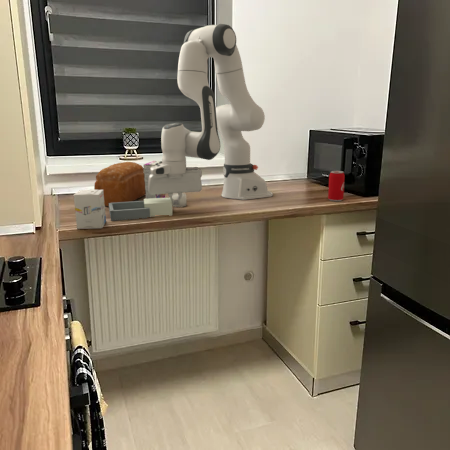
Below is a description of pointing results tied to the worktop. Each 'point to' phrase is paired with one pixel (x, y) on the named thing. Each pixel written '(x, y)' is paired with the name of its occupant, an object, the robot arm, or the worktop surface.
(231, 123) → the robot arm
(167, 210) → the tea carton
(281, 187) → the worktop surface
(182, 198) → the white rounded block
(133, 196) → the bread
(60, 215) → the worktop surface
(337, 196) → the beverage can
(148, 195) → the candy bar box
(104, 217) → the ink box
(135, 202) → the grey rectangular tray
